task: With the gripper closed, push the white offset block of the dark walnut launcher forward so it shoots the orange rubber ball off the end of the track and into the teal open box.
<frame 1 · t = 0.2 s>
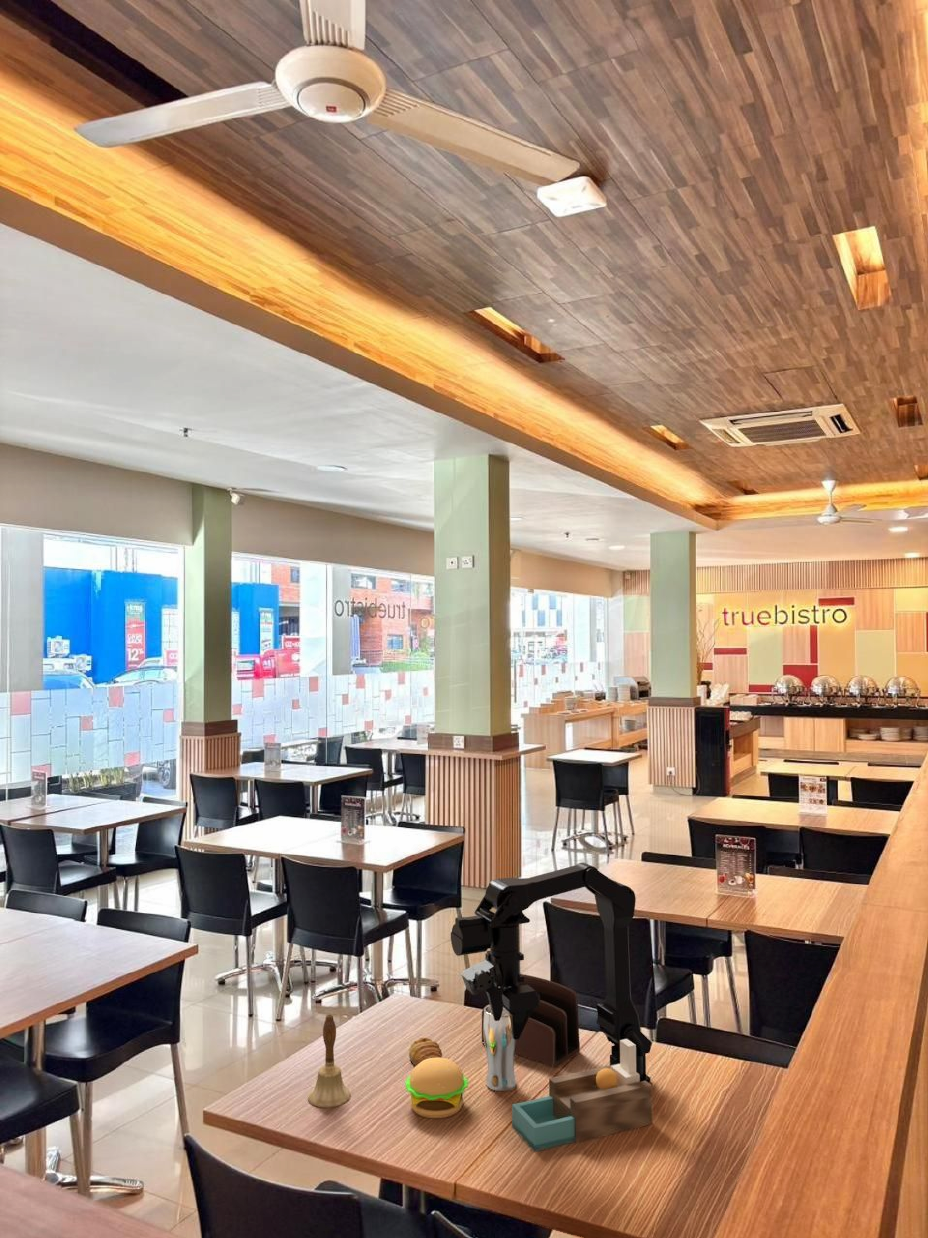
hand: (506, 1029, 174), 14 cm above the table, tool pointing down, fingers open, 9 cm apart
pastry: (427, 1063, 194), on the table
hand bell: (329, 1098, 178), on the table
ball: (606, 1080, 169), point 7 cm above the table, touching launcher deck
white offset block: (624, 1065, 171), point 9 cm above the table, slide at 0.0 cm
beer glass: (501, 1085, 183), on the table
teal open box: (543, 1134, 164), on the table
letter holder: (530, 1049, 200), on the table
hamburger: (436, 1108, 174), on the table
launcher deck: (600, 1120, 168), on the table
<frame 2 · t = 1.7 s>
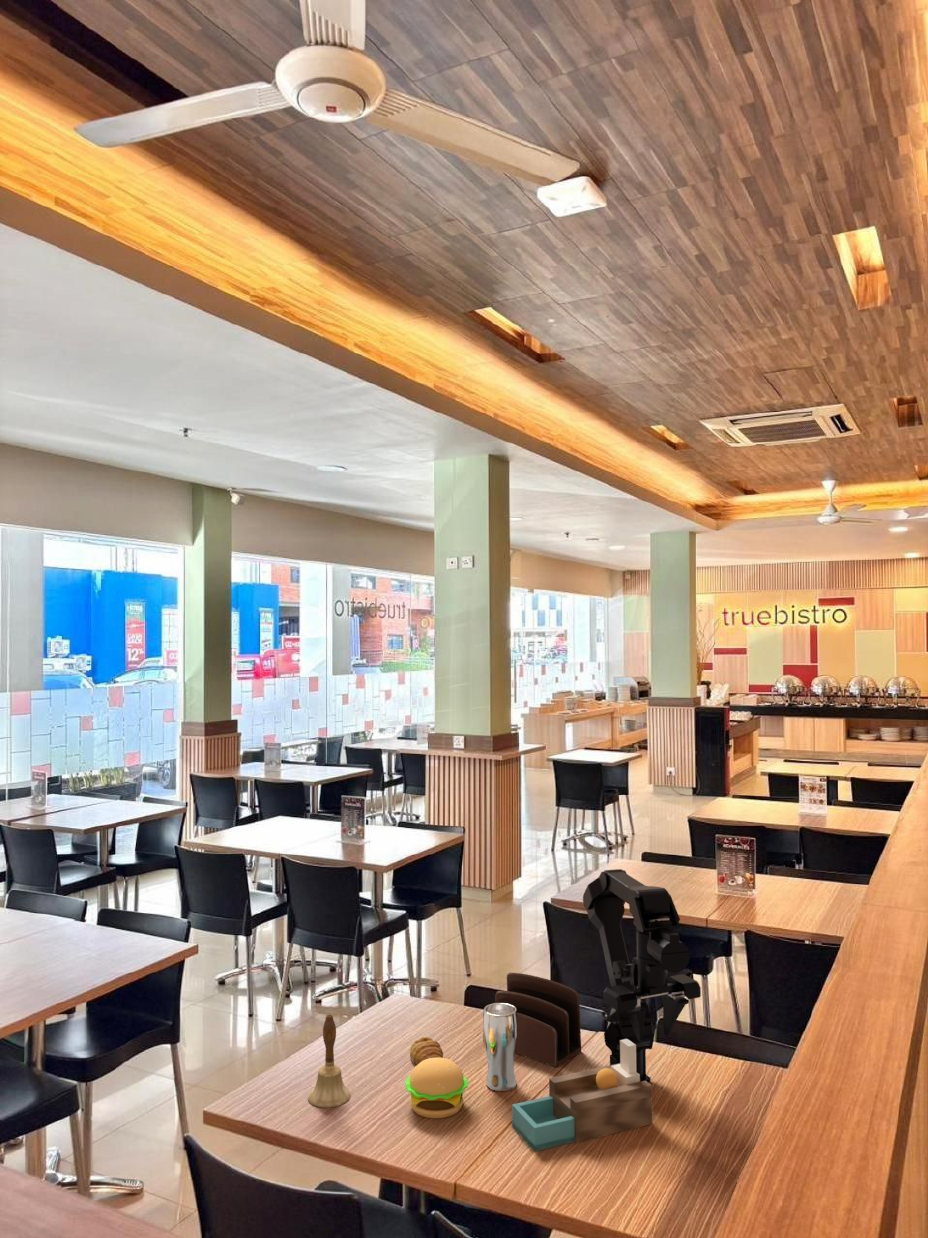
hand: (653, 1037, 174), 13 cm above the table, tool pointing down, fingers open, 6 cm apart
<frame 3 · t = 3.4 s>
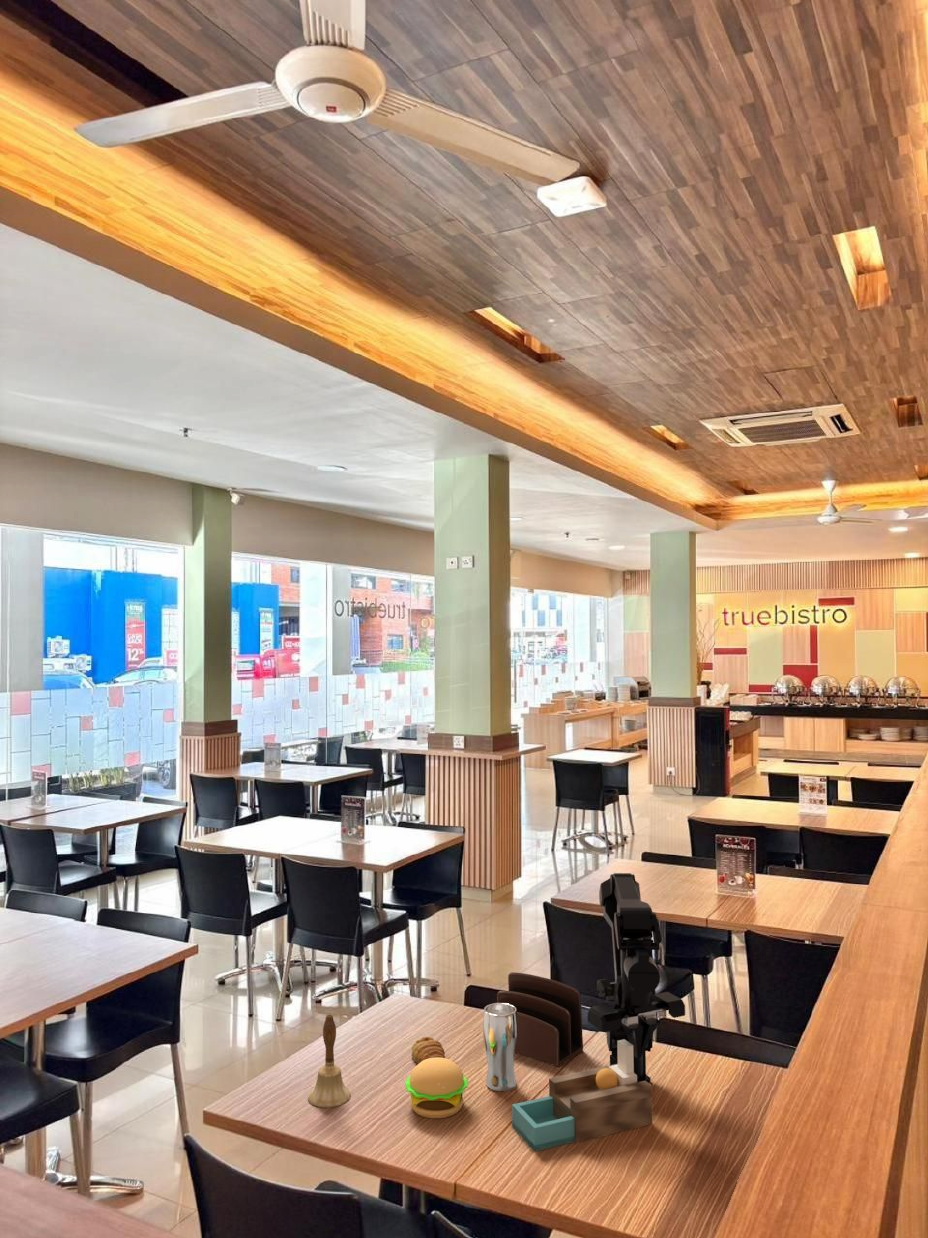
hand: (637, 1057, 172), 10 cm above the table, tool pointing down, fingers closed
ball: (606, 1080, 169), point 7 cm above the table, touching white offset block
white offset block: (622, 1065, 171), point 9 cm above the table, slide at 0.6 cm, touching ball, gripper
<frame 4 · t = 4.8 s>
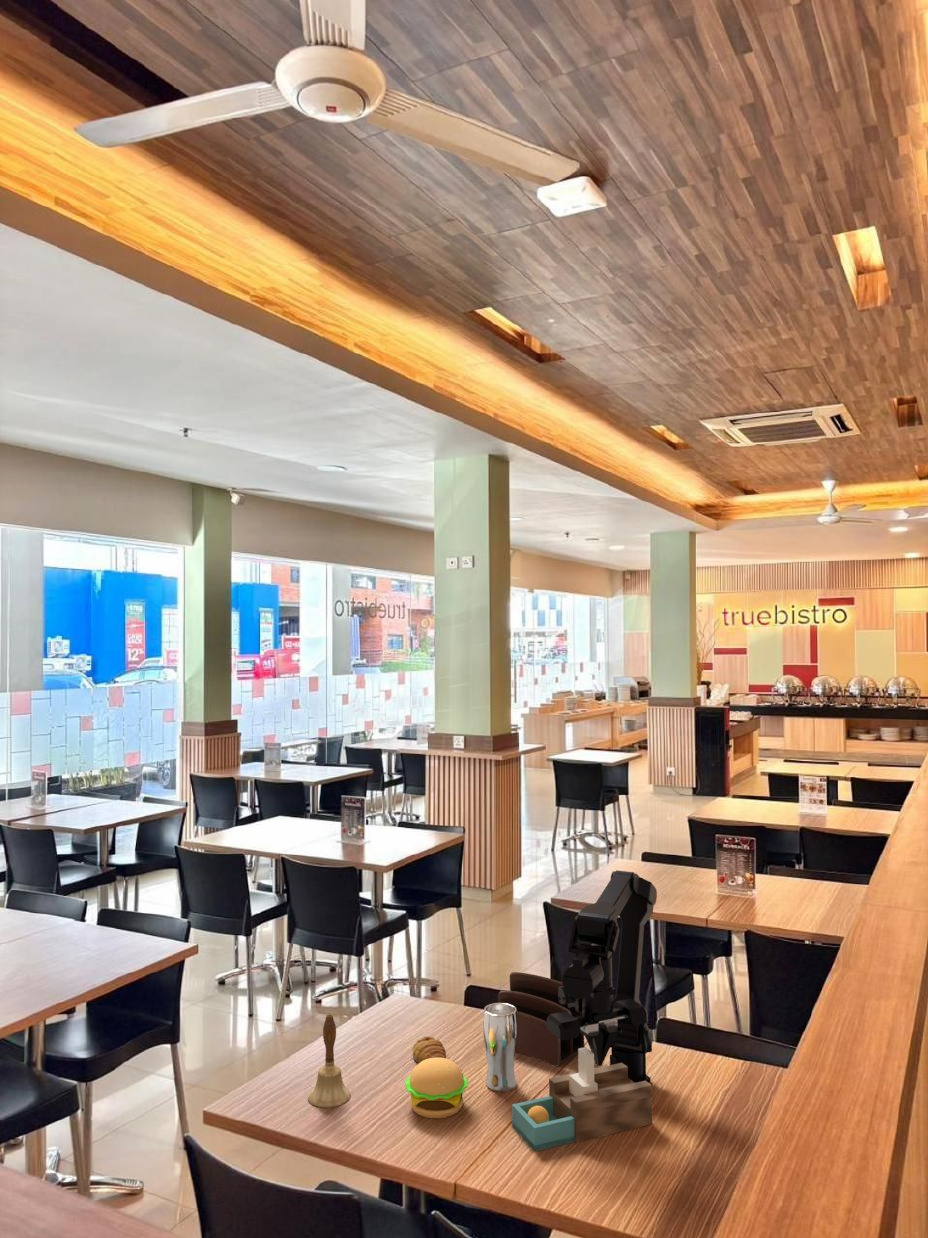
hand: (598, 1065, 169), 10 cm above the table, tool pointing down, fingers closed
ball: (538, 1118, 164), point 3 cm above the table, tilted 77°, touching teal open box
white offset block: (583, 1074, 167), point 9 cm above the table, slide at 9.1 cm, touching gripper
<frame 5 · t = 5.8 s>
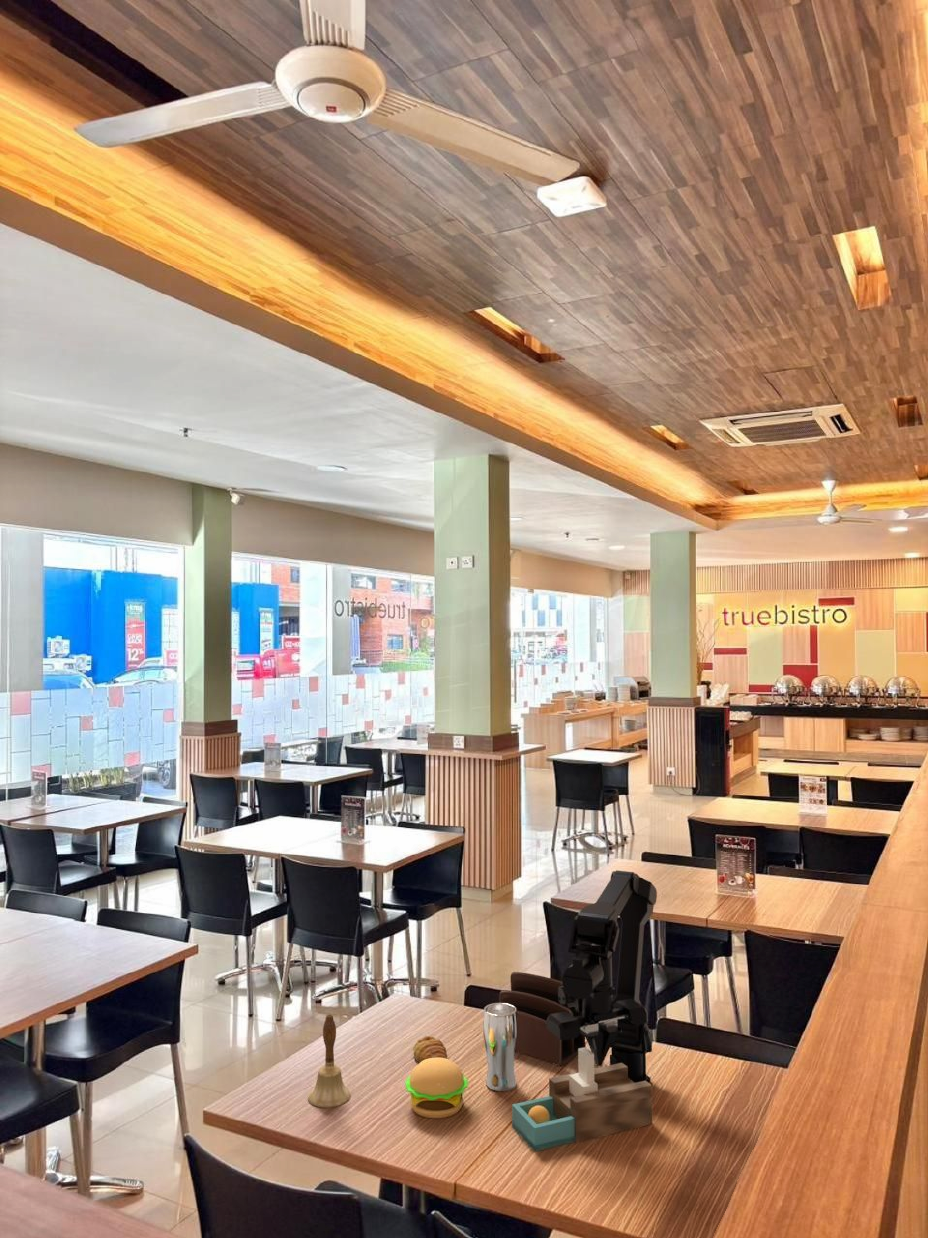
hand: (598, 1065, 169), 10 cm above the table, tool pointing down, fingers closed
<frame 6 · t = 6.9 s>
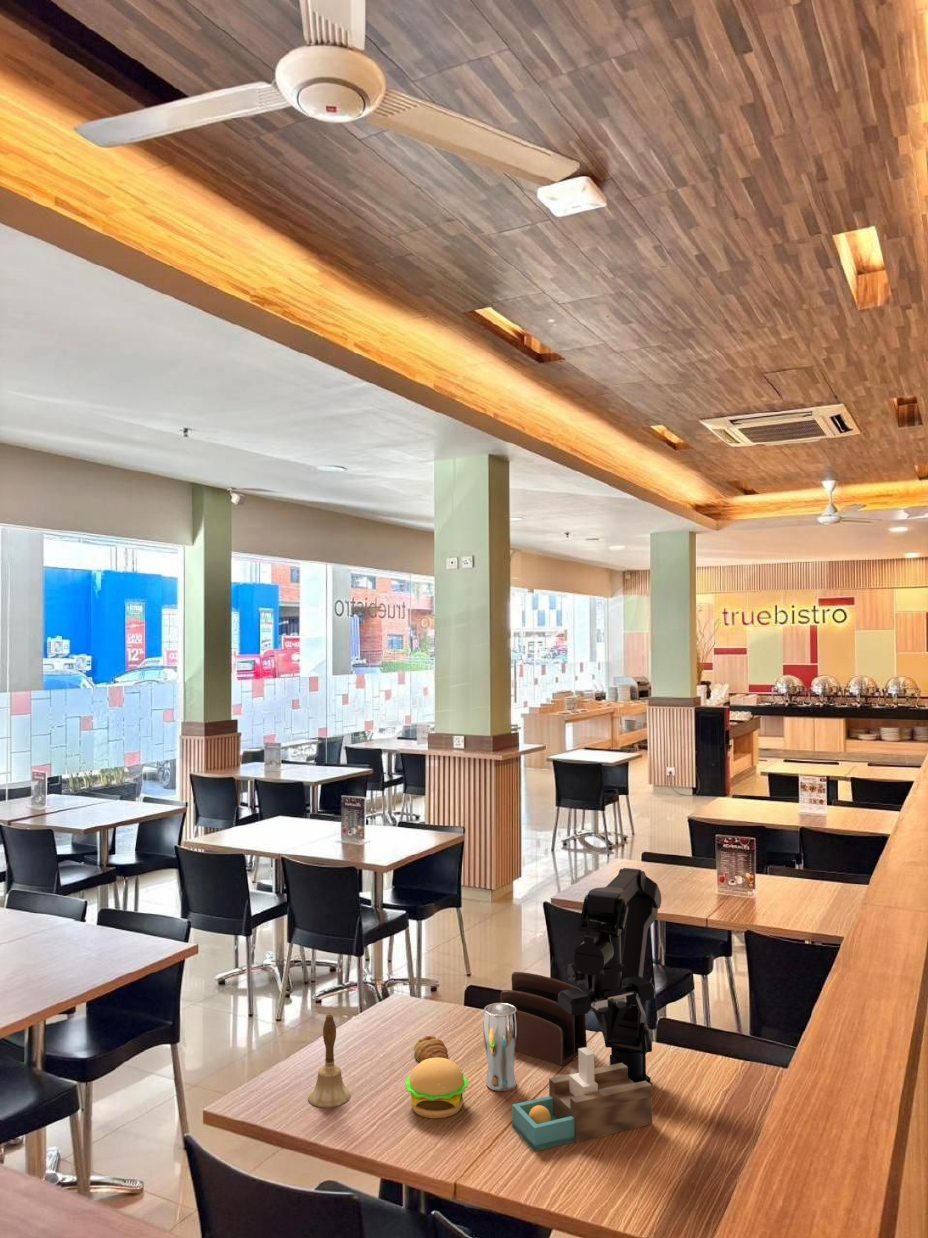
hand: (607, 1040, 173), 13 cm above the table, tool pointing down, fingers closed
white offset block: (583, 1074, 167), point 9 cm above the table, slide at 9.0 cm
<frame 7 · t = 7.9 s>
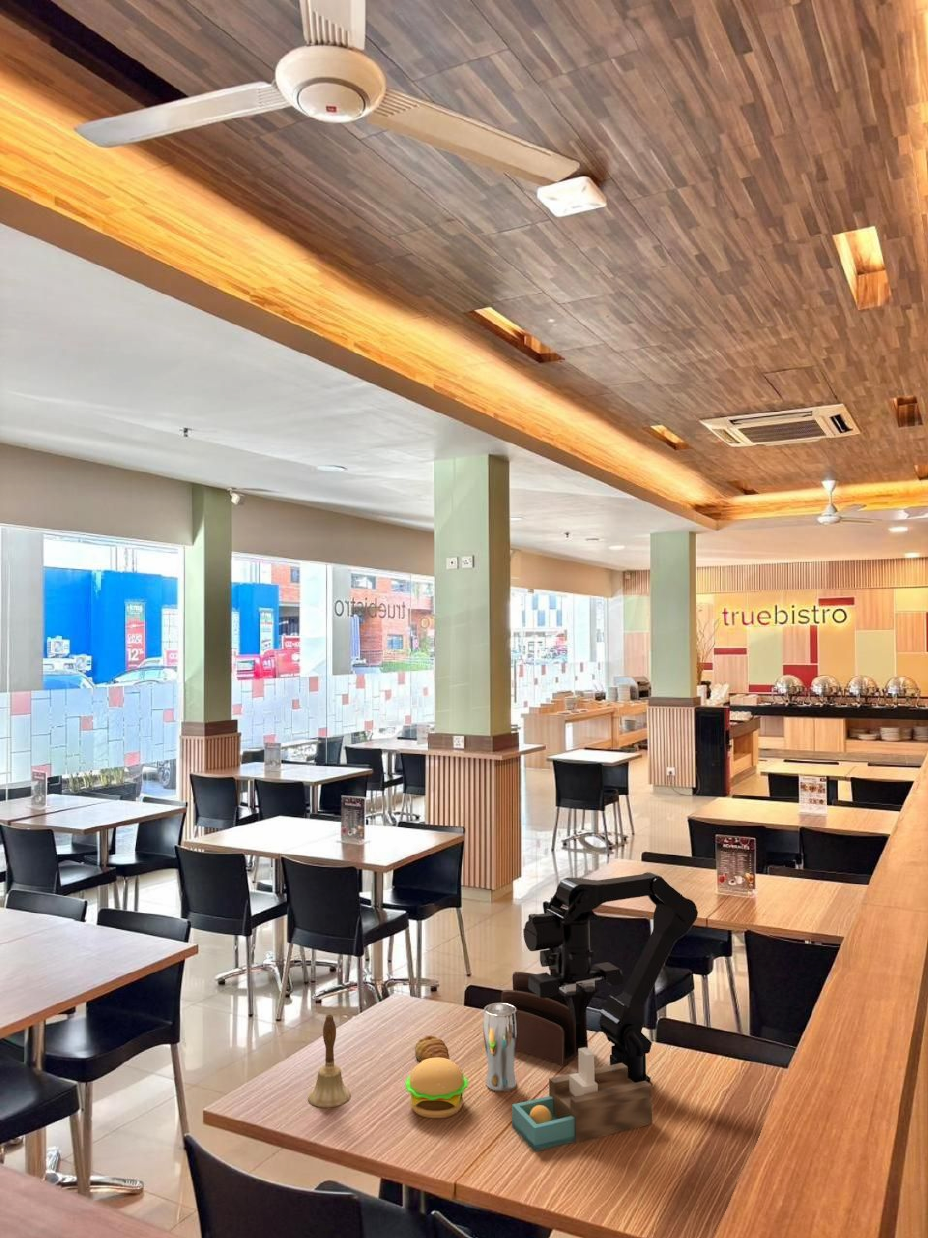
hand: (576, 1023, 181), 13 cm above the table, tool pointing down, fingers closed
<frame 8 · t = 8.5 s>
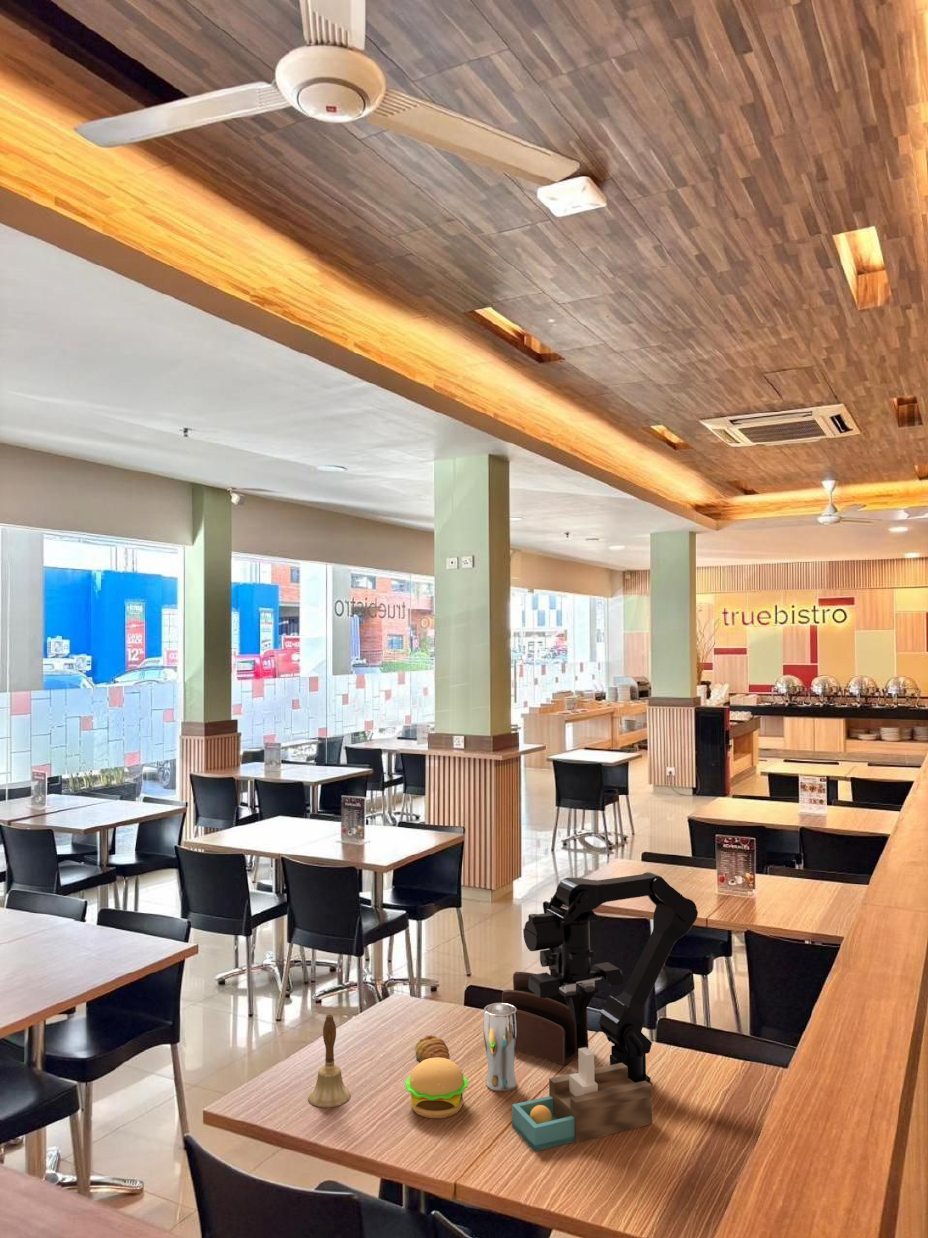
hand: (576, 1023, 181), 13 cm above the table, tool pointing down, fingers closed
at the end: ball inside the target area on the teal open box (0.9 cm from its centre), point 3.0 cm above the teal open box's base; white offset block slide at 9.0 cm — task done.
